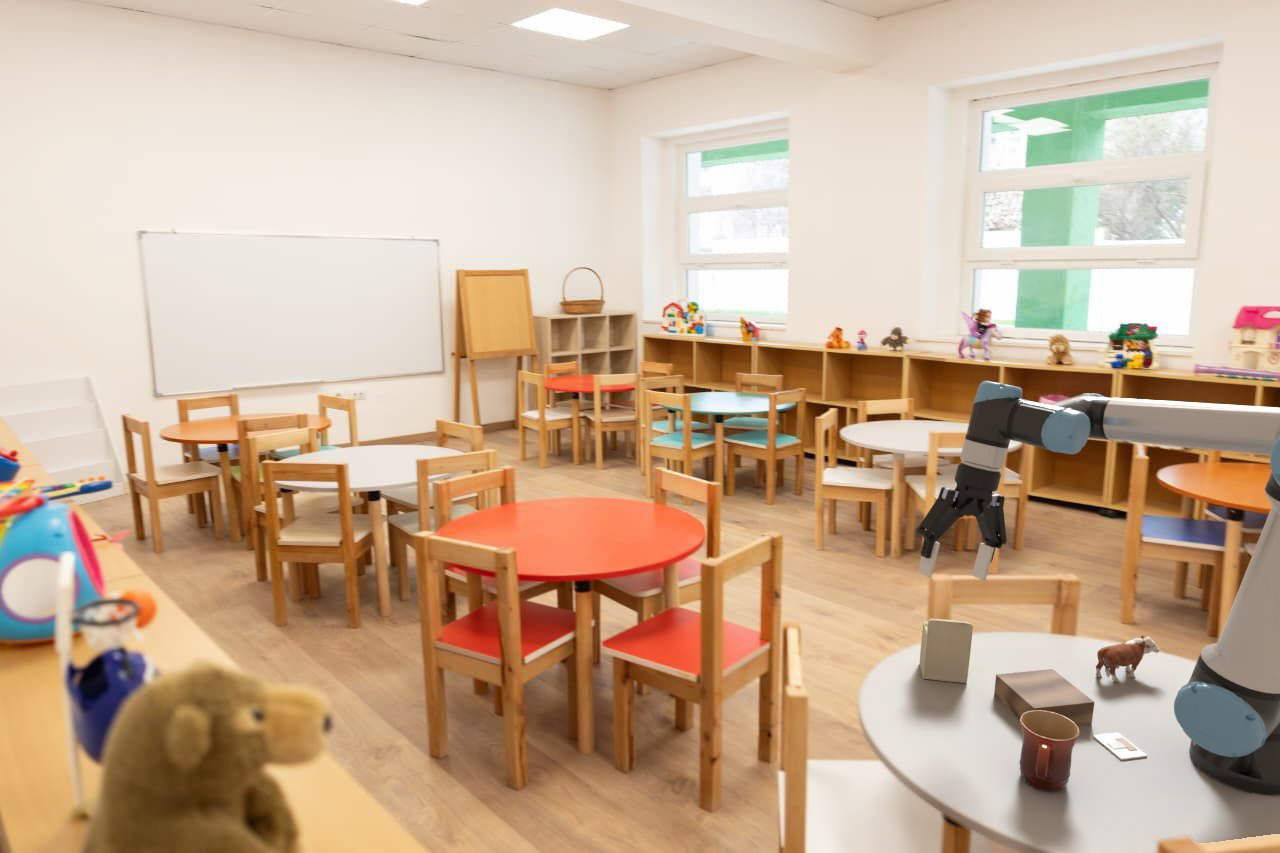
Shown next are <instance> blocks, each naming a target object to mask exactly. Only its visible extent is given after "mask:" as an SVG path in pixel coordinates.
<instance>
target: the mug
mask: <svg viewBox="0 0 1280 853" xmlns="http://www.w3.org/2000/svg"><path fill="white" fill-rule="evenodd" d="M1019 722H1020V726H1021V730H1022V731H1021V732H1022V745H1021V752H1020V759H1019V769H1020V775H1021V777H1022V779H1023V780H1024V781H1025V782H1026V783H1027V784H1028V785H1029V786H1031V787H1033V788H1036V789H1037V790H1040V791H1043V792H1048V793H1049V792H1050V793H1052V792H1058V791H1061V790H1064V789H1065V788H1066V786H1067V784H1068V783H1069V781H1070V780H1069V778H1070V776H1071V769H1072V768H1071V766H1072V757H1073V756H1072V754H1073V748H1074V746H1075V744H1076V742H1077V740H1078V739H1079V737H1080V734H1081V733H1080V732H1081V731H1080V728H1079V726H1077V725H1076V724H1075V723H1074V722H1073V721H1072V720H1070V719H1068V718H1067V717H1065V716H1063V715H1060V714H1057V713H1054V712H1050V711H1044V710H1032V711H1028V712H1025V713H1023V714H1022V715H1021V717H1020V720H1019Z"/></svg>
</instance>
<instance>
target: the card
mask: <svg viewBox="0 0 1280 853" xmlns="http://www.w3.org/2000/svg"><path fill="white" fill-rule="evenodd" d="M1092 738H1093V739H1095V740H1096V741H1097V742H1098V741H1099V742H1098V743H1100V744H1101V745H1102V746H1103V745H1104V746H1103V747H1105V748H1106V750H1108V751H1109V752H1111V753H1112V754H1113V755H1114V756H1116V758H1118V760H1120V761H1125V760H1127V761H1128V760H1133V759H1142V758H1147V757H1148V754H1147V753H1145V752H1144V751H1142V750H1141V749H1140V748H1139V747H1137V746H1136V745H1134V744H1133V743H1132V742H1131V741H1129V740H1128V739H1127V738H1126V737H1124V736H1123V735H1122V734H1121V733H1119V732H1117V731H1116V732H1111V733H1110V732H1109V733H1101V734H1100V733H1099V734H1094V735H1092Z"/></svg>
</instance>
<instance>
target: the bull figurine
mask: <svg viewBox="0 0 1280 853" xmlns="http://www.w3.org/2000/svg"><path fill="white" fill-rule="evenodd" d="M1153 652H1154V653H1156V654H1158V653H1160V648H1159V647H1158V645H1157V644H1156V642H1155V641H1154V640H1153V639H1152V637H1150V636H1144V635H1141V636H1140V637H1135V638H1133V639H1130V640H1127V641H1124V642H1121V643H1117V644H1112V645H1108V646H1104V647H1102V648H1100V649H1099V650H1098V651H1097V655H1096V656H1097V660H1098V663H1097V664H1096V665H1095V669H1096V673H1095V676H1096V677H1097V678H1099V679H1101V678H1102V677H1103V676H1102V674H1101V671H1102V668H1103V667H1104V672H1105V674H1106V677H1107V678H1109V677H1110V676H1111V678H1112V679H1111V680H1112V681H1113V682H1114V683H1120V679H1119V678H1118V677H1117V675H1116V669H1119V668H1120V667H1125V668H1124V670H1125V671H1126V672H1129V673H1128V676H1129V677H1130V678H1132V679H1136V675H1135V671H1136V670H1137V667H1138V666H1139V664H1140V663H1141V661H1142V660H1143V658H1144V656H1145V655H1146V654H1147V655H1148V654H1150V653H1153ZM1130 666H1131V667H1130Z"/></svg>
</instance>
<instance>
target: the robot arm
mask: <svg viewBox="0 0 1280 853" xmlns="http://www.w3.org/2000/svg"><path fill="white" fill-rule="evenodd" d="M1023 393H1024V392H1023V389H1022V387H1019V386H1015V385H1011V384H1010V385H1009V384H1006V383H1005V384H1004V383H1000V382H994V381H990V380H983V381H982V382H981V383H980V384H979V385H978V388H977V392H976V394H975V397H974V400H973V402H972V409H971V414H970V417H969V422H968V426H967V431H966V434H965V438H964V441H963V446H962V449H961V450H962V451H961V453H960V457H959V459H960V460H961V461H962V462H959V463H958V464H957V468H956V471H955V475H954V481H955V482H956V487H955V488H954V489H951V488H949V487H946V486H942V487H941V489H940V491H939V494H938V496H937V498H936V500H935V502H933V503H934V504H933V505H932V506H931V508H930V509H929V511H928V512H927V514H926V515H925V516H924V518H923V519H922V521H921V523H920V524H919V526H918V527H917V529H916V534H918V535H920V537H922V538H923V543H922V548H921V550H920V556H921V558H920V562H919V566H918V570H917V573H919V574H921V575H923V576H925V577H926V578H932V577H933V576H932V575H933V573H934V569H935V564H936V561H937V556H938V553H939V548H940V545H941V543H940V542H938V540H939V539H940V538H941V537H942V536H943V535H944V534H945V533H946V532H947V531H948V530H949V529H950V527H952V525H954V524H955V523H956V522H957V521H958V519H960V518H961V519H962V518H963V517H964V516H966V517H971V516H973V517H975V519H976V522H977V525H978V528H979V530H980V534H981V536H982V539H983V541H984V542H980V543H979V546H978V551H977V555H976V558H975V562H974V566H973V569H972V574H971V576H973V578H976V579H979V580H980V581H984V582H985V581H987V577H988V573H989V569H990V565H991V563H992V562H993V560H994V556H995V551H996V548H997V549H1001V548H1002V547H1003V545H1006V543H1007V531H1006V521H1005V514H1004V513H1005V512H1004V505H1005V500H1006V499H1005V498H1006V497H1005V496H1004V495H1002V494H998V493H995V492H996V491H998V489H999V485H1000V481H1001V478H1002V473H1001V471H1000V470H1003V469H1004V467H1005V462H1006V460H1007V459H1006V458H1007V456H1008V451H1009V446H1010V442H1011V441H1013V442H1019V443H1021V444H1026V445H1028V446H1029V445H1030V446H1032V447H1037V448H1041V449H1044V450H1048V451H1051V452H1052V453H1053V452H1054V453H1063V454H1067V455H1075V454H1078V453H1080V452H1081V450H1082V448H1084V447H1085V446H1086V444H1087V442H1088V439H1095V440H1106V441H1107V440H1108V441H1119V442H1120V441H1121V442H1130V443H1137V444H1138V443H1140V444H1149V445H1161V446H1169V447H1170V446H1171V447H1180V448H1188V449H1189V448H1191V449H1201V450H1211V451H1221V452H1231V453H1240V454H1251V455H1259V456H1269V458H1270V460H1269V464H1270V469H1271V470H1270V471H1271V472H1270V474H1269V477H1268V481H1267V482H1266V486H1265V487H1264V491H1263V492H1264V494H1265V496H1266V497H1267V499H1268V501H1269V502H1270V504H1271V507H1270V510H1269V513H1268V516H1267V517H1266V520H1265V523H1264V525H1263V527H1262V530H1261V532H1260V536H1259V538H1258V540H1257V543H1256V545H1255V548H1254V551H1253V553H1252V555H1251V557H1250V561H1249V563H1248V565H1247V568H1246V571H1245V573H1244V576H1243V578H1242V581H1241V583H1240V586H1239V589H1238V591H1237V593H1236V595H1235V598H1234V601H1233V604H1232V606H1231V608H1230V610H1229V613H1228V616H1227V619H1226V620H1225V623H1224V625H1223V628H1222V630H1221V633H1220V635H1219V637H1218V641H1217V642H1216V643H1215V642H1214V643H1210V644H1206V645H1204V646H1203V648H1201V650H1200V653H1199V656H1198V658H1197V661H1196V663H1195V666H1194V667H1193V668H1194V669H1193V670H1192V674H1191V675H1190V678H1189V680H1188V682H1187V684H1185V685H1183V686H1182V687H1181V688H1180V689H1179V690H1178V691H1177V693H1176V696H1175V698H1174V701H1173V702H1174V703H1173V711H1174V712H1173V714H1174V717H1175V719H1176V721H1177V723H1178V724H1179V726H1180V727H1181V728H1182V731H1183V732H1184V733H1185V735H1186V736H1187V737H1188V738H1189V739H1190V745H1189V751H1188V752H1189V757H1190V759H1191V761H1192V762H1193V763H1194V764H1195V766H1196V767H1198V768H1199V769H1200V770H1201V771H1203V772H1204V773H1205V774H1206V775H1208V776H1210V777H1211V778H1213V779H1215V780H1217V781H1219V782H1221V783H1223V784H1225V785H1227V786H1230V787H1232V788H1235V789H1238V790H1242V791H1245V792H1248V793H1253V794H1257V795H1265V796H1280V407H1277V406H1275V407H1274V406H1259V405H1244V404H1243V405H1241V404H1240V405H1239V404H1228V403H1227V404H1226V403H1225V404H1224V403H1210V402H1209V403H1208V402H1193V401H1176V400H1158V399H1156V400H1155V399H1144V398H1143V399H1141V398H1139V399H1138V398H1124V397H1123V398H1121V397H1107V396H1104V395H1102V394H1099V393H1081V394H1079V395H1075V396H1072V397H1070V398H1066V399H1063V400H1059V401H1056V402H1052V403H1042V402H1037V401H1033V400H1028V399H1025V398H1023Z"/></svg>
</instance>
